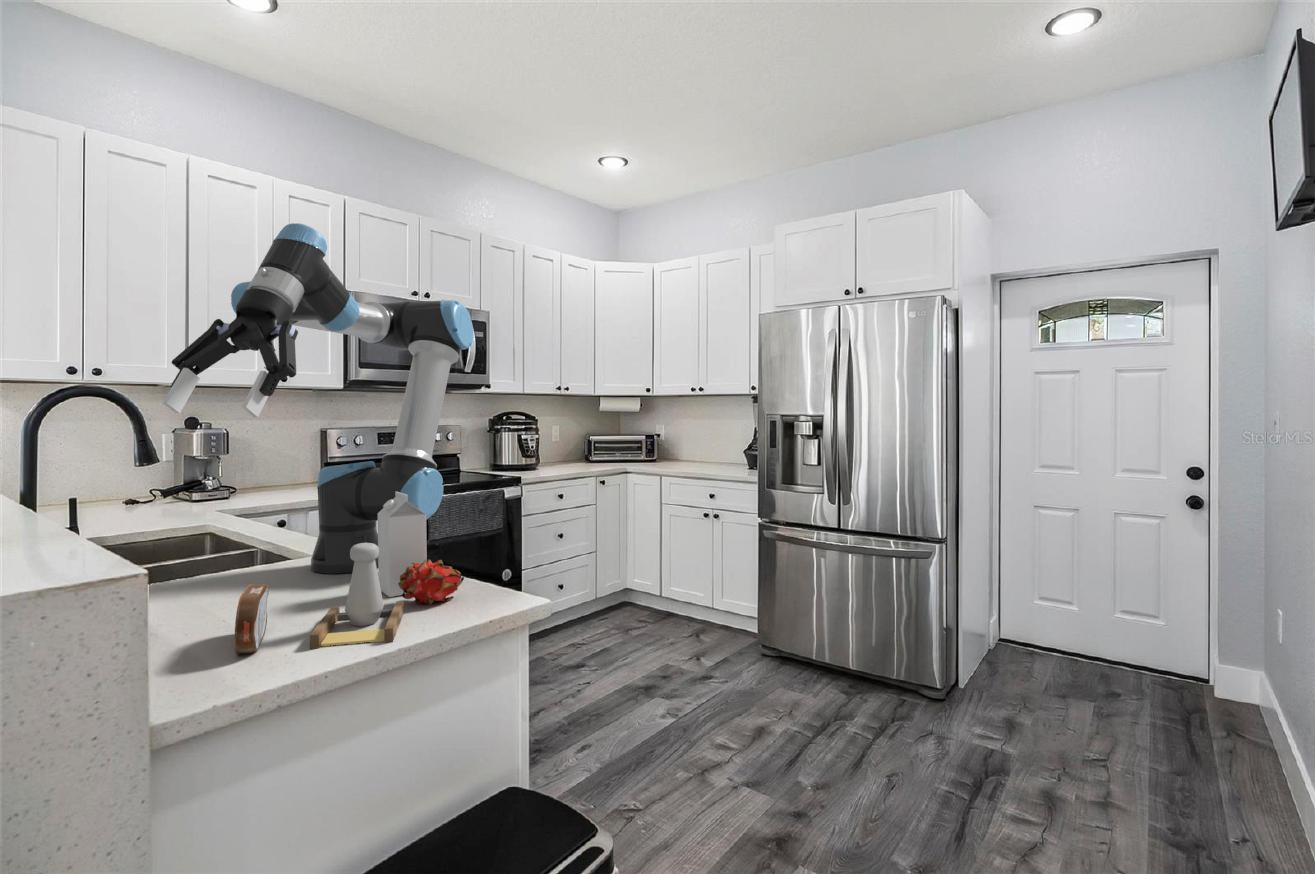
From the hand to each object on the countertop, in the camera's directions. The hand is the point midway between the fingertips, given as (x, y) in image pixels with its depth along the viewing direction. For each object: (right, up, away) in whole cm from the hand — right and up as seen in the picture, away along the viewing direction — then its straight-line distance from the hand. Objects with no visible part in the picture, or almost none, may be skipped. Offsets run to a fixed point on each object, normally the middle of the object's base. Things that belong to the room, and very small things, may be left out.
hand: (209, 410), depth 100 cm
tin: (+6, -35, +1) cm, 36 cm away
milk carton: (+17, -34, +30) cm, 49 cm away
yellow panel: (+20, -35, +3) cm, 40 cm away
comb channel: (+19, -35, +7) cm, 40 cm away
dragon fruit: (+25, -34, +23) cm, 48 cm away
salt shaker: (+18, -35, +11) cm, 41 cm away
